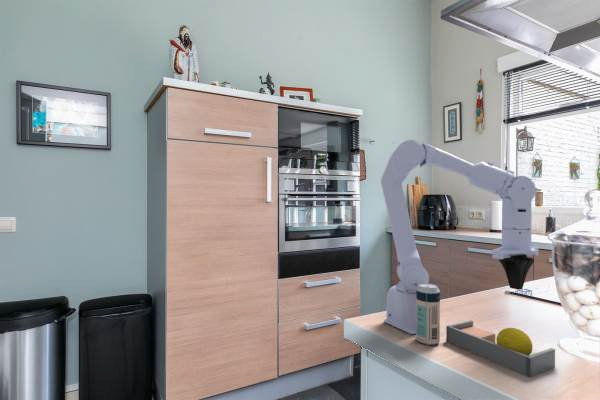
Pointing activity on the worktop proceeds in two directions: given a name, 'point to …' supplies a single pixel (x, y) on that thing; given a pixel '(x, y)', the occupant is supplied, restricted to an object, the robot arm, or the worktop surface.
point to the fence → (500, 351)
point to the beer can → (428, 314)
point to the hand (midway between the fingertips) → (516, 288)
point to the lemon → (515, 340)
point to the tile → (480, 333)
